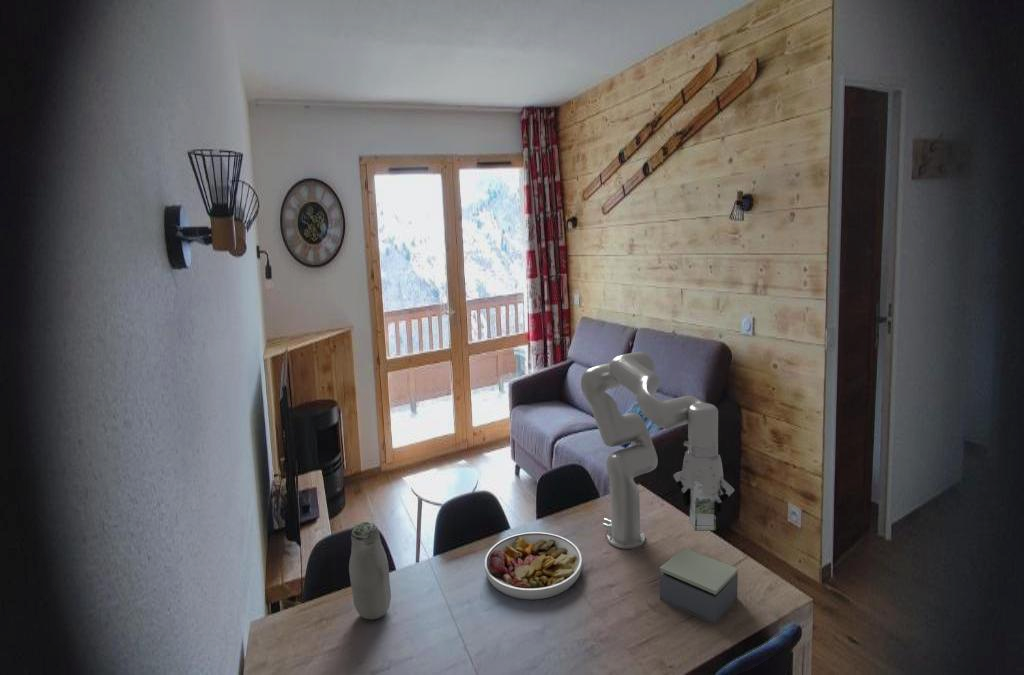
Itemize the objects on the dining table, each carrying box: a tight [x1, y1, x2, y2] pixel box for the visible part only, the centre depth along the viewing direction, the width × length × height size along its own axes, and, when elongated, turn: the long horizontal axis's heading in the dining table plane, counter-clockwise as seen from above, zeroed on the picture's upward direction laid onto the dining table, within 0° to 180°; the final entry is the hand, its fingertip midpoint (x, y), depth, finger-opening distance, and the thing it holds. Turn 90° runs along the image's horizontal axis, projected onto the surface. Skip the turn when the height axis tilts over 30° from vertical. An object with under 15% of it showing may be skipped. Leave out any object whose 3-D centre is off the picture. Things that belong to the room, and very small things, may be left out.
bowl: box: [484, 531, 583, 600], centre depth 170 cm, size 30×30×8 cm
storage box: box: [659, 571, 739, 626], centre depth 153 cm, size 16×14×8 cm
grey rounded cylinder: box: [348, 521, 392, 620], centre depth 153 cm, size 10×10×28 cm
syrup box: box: [689, 481, 717, 532], centre depth 151 cm, size 6×6×14 cm
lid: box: [659, 547, 739, 595], centre depth 152 cm, size 16×14×1 cm
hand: (702, 508), depth 151 cm, fingers closed on syrup box, 8 cm apart
